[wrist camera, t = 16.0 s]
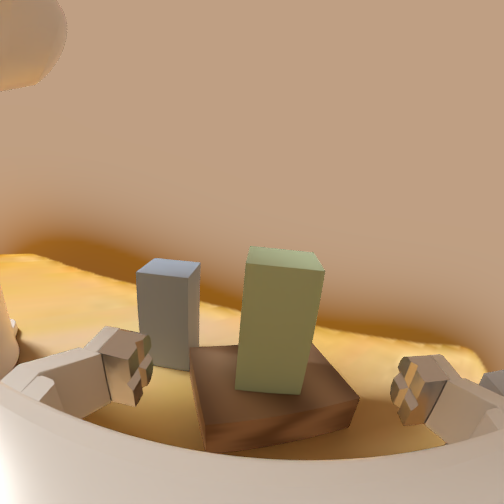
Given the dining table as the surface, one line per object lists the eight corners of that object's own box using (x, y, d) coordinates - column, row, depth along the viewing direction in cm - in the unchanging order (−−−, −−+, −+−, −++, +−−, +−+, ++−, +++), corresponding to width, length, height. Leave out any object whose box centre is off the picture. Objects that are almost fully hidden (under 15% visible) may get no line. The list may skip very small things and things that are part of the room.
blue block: (142, 363, 29) (135, 272, 26) (157, 340, 33) (154, 258, 31) (188, 371, 28) (188, 278, 26) (199, 346, 33) (200, 262, 31)
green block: (234, 389, 21) (245, 263, 19) (240, 355, 26) (250, 246, 24) (299, 394, 21) (325, 271, 19) (295, 360, 26) (313, 252, 24)
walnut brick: (206, 458, 18) (205, 424, 17) (190, 380, 28) (189, 347, 27) (347, 430, 22) (359, 397, 21) (302, 369, 31) (308, 338, 30)
